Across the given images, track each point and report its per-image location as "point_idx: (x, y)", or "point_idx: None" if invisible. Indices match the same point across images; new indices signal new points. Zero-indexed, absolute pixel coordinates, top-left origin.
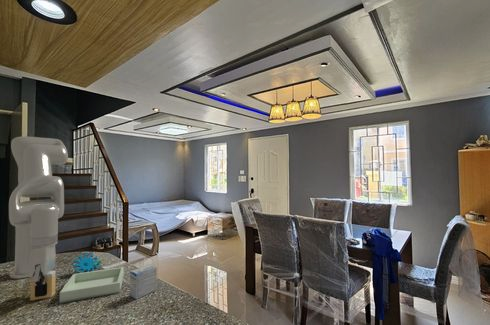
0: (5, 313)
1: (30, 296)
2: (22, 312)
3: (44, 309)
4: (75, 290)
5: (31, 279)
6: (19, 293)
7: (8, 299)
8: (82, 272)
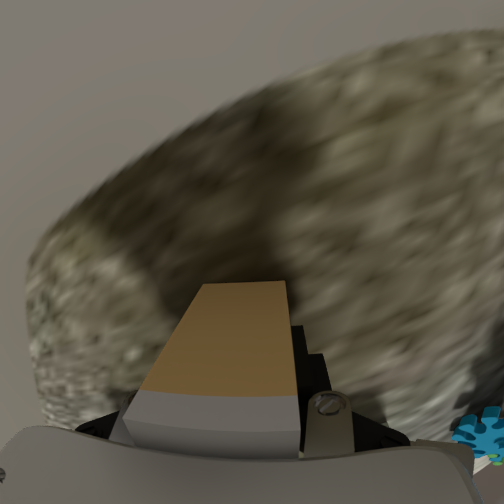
0: (74, 210)
1: (194, 298)
2: (71, 300)
3: (91, 382)
4: None
5: (138, 400)
6: (386, 135)
7: (293, 98)
8: (464, 429)
